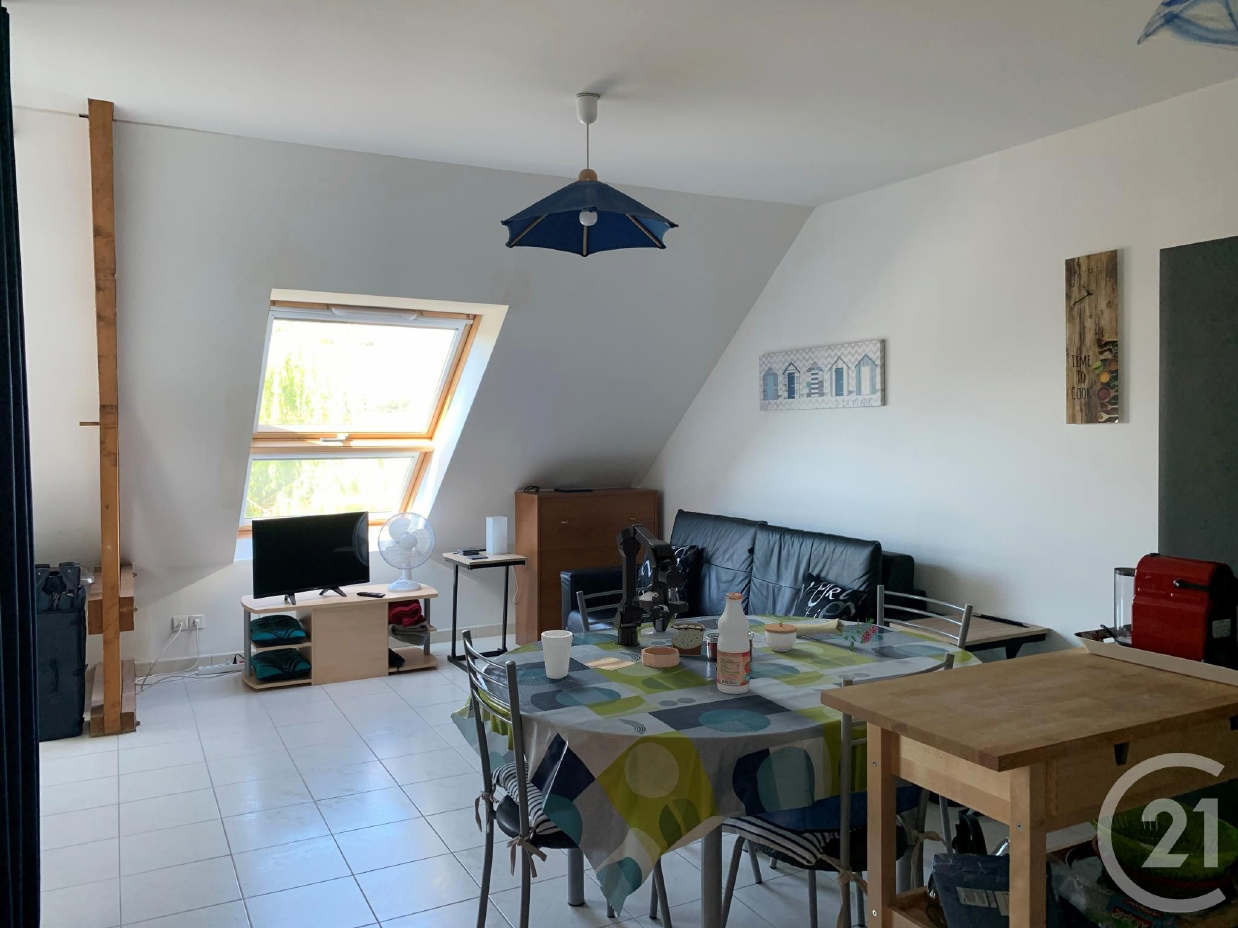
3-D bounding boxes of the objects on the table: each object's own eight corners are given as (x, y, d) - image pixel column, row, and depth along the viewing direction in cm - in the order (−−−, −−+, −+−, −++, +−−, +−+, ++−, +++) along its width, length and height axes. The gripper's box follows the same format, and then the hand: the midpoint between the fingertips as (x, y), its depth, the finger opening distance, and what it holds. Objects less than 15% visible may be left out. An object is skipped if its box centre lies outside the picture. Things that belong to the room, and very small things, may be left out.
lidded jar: (761, 651, 313) (761, 624, 312) (768, 644, 322) (768, 617, 322) (793, 654, 309) (793, 626, 308) (799, 647, 318) (799, 620, 318)
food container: (705, 651, 313) (705, 622, 312) (705, 656, 307) (705, 626, 306) (669, 650, 314) (669, 621, 313) (668, 655, 308) (668, 625, 307)
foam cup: (577, 673, 286) (577, 631, 285) (565, 681, 277) (565, 638, 276) (548, 670, 289) (548, 629, 288) (536, 678, 280) (536, 635, 280)
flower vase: (806, 656, 335) (890, 653, 310) (784, 651, 328) (869, 647, 302) (807, 623, 339) (890, 617, 313) (785, 618, 331) (869, 611, 306)
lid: (632, 634, 296) (632, 619, 296) (656, 628, 306) (656, 613, 306) (663, 641, 288) (663, 625, 288) (687, 633, 298) (687, 618, 297)
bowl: (634, 663, 297) (634, 651, 297) (657, 656, 306) (657, 644, 305) (663, 670, 289) (663, 657, 289) (685, 662, 298) (685, 650, 298)
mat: (583, 665, 295) (583, 664, 295) (608, 657, 304) (608, 656, 304) (611, 672, 287) (611, 670, 287) (636, 664, 296) (636, 662, 296)
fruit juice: (712, 686, 272) (713, 592, 271) (742, 684, 274) (743, 590, 273) (723, 695, 263) (723, 598, 261) (754, 693, 265) (755, 596, 264)
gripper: (621, 582, 296) (621, 630, 297) (668, 589, 284) (667, 639, 285) (643, 577, 305) (643, 624, 305) (689, 584, 292) (689, 633, 293)
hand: (660, 630), depth 297 cm, fingers closed on lid, 3 cm apart
